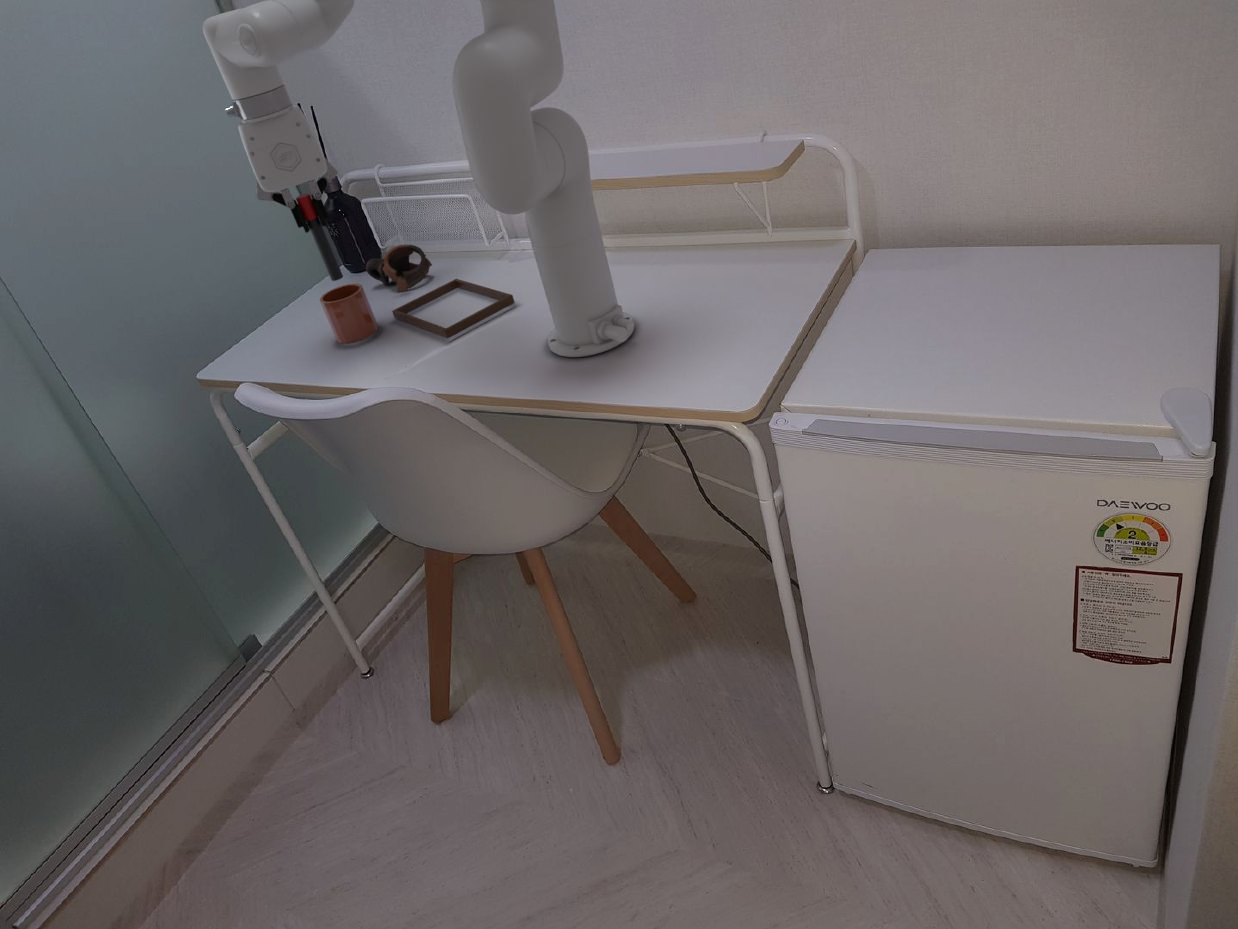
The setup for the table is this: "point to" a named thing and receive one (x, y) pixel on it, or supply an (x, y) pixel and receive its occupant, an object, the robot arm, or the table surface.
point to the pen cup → (349, 313)
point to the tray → (463, 324)
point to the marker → (319, 236)
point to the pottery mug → (399, 267)
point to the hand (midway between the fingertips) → (315, 226)
